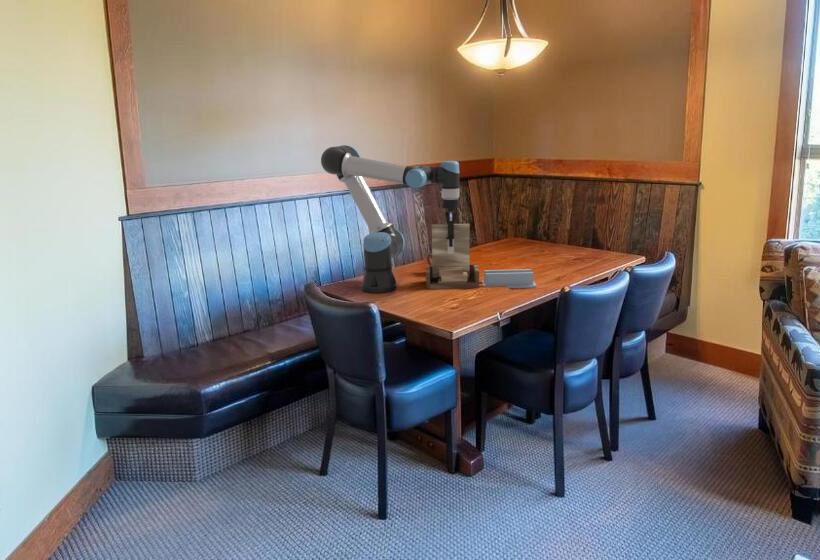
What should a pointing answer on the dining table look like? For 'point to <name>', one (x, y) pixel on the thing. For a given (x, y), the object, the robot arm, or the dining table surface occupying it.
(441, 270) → the offcut top
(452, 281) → the offcut low
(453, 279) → the offcut mid
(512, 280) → the slotted stand
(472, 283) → the rack
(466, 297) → the dining table surface
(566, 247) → the dining table surface
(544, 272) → the dining table surface
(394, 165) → the robot arm
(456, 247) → the birch board
